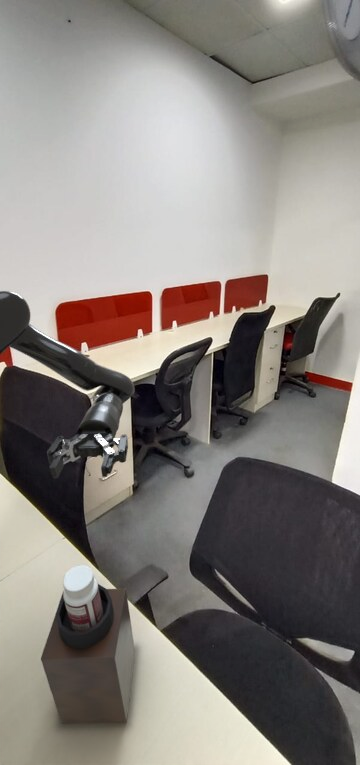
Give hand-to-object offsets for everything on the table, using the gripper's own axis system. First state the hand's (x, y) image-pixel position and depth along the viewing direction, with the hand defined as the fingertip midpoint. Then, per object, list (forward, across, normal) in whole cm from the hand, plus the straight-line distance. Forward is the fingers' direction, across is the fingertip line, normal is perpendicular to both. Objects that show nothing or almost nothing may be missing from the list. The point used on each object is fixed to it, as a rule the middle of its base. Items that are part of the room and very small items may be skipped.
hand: (78, 473), depth 61 cm
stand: (+15, +3, +31) cm, 34 cm away
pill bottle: (+15, +3, +14) cm, 21 cm away
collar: (+15, +3, +15) cm, 21 cm away
